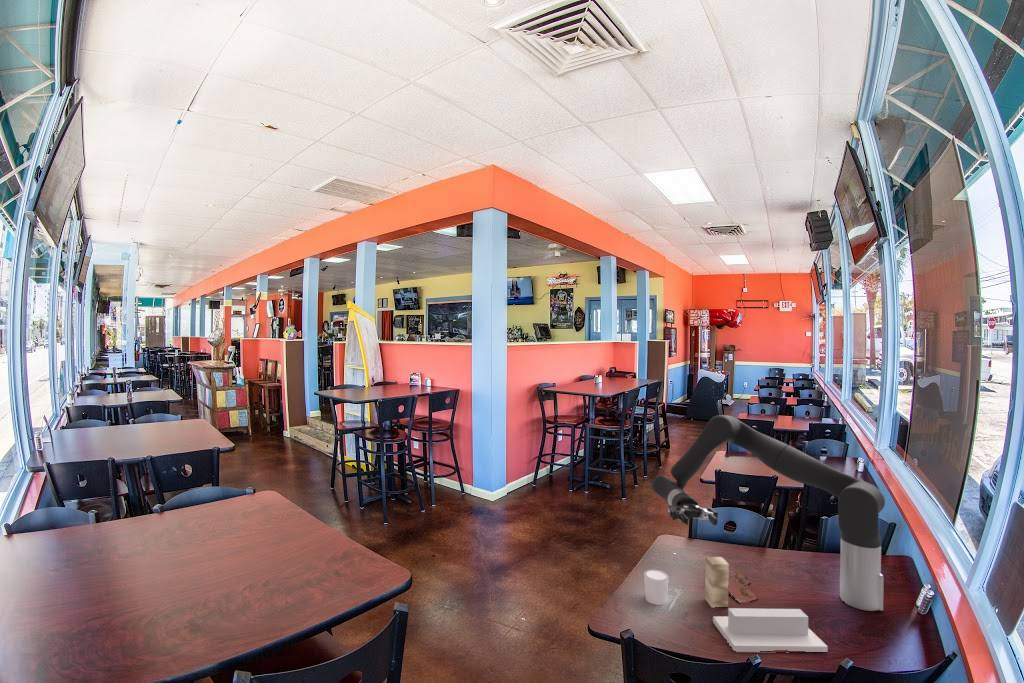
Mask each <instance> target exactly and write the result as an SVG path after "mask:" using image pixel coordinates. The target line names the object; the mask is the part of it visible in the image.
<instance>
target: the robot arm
mask: <svg viewBox="0 0 1024 683" xmlns="http://www.w3.org/2000/svg"><path fill="white" fill-rule="evenodd" d="M723 443H730V444H733V445H735V446H738V447H740V448H741V449H744V450H745V451H748V452H749V453H751V454H752V455H754V456H755V457H756V458H758V460H759V461H761V462H762V464H764V465H765V466H766V467H768V468H770V469H771V470H773V471H774V472H776V473H778V474H780V475H781V476H784V477H785V478H788V479H790V480H792V481H794V482H798V483H800V484H804V485H807V486H811V487H814V488H817V489H820V490H822V491H825V492H827V493H829V494H831V495H833V496H834V497H836V498H838V501H837V502H838V503H837V504H838V505H837V506H838V508H837V511H838V512H837V513H838V514H837V516H838V528H839V531H840V562H839V567H840V568H839V570H840V571H839V574H840V575H839V598H841V599H840V600H841V601H842V602H843V601H844V602H845V603H844V602H843V603H844V604H846V605H848V606H851V607H853V608H854V609H857V610H858V609H859V610H862V611H867V612H868V611H869V612H875V611H884V574H882V572H881V568H882V566H881V565H882V562H881V561H882V536H881V534H880V533H879V514H880V512H882V511H883V509H884V507H885V506H886V499H885V496H884V495H883V493H882V492H881V490H879V488H878V487H876V486H875V485H874V484H871V483H869V482H867V481H864V480H862V479H860V478H857V477H854V476H851V475H849V474H847V473H845V472H841V471H839V470H836V469H835V468H833V467H831V466H829V465H827V464H825V463H824V462H822V461H820V460H818V459H816V458H815V457H812V456H811V455H808V454H806V453H805V452H803V451H801V450H800V449H797V448H795V447H793V446H791V445H790V444H788V443H785V442H782V441H780V440H778V439H776V438H774V437H771V436H769V435H766V434H763V433H761V432H760V431H757V430H755V429H754V428H752V427H751V426H750V425H748V424H746V423H744V422H743V421H741V420H740V419H738V418H736V417H734V416H732V415H727V414H726V415H724V414H718V415H714V416H713V417H711V418H710V419H709V421H708V422H707V423H706V425H705V427H704V428H703V430H702V431H701V432H700V434H699V435H698V437H697V438H696V439H695V441H694V443H693V444H692V445H691V446H690V448H689V449H688V450H686V452H685V453H684V454H683V455H682V456H681V457H680V458H679V459H678V460H677V461H676V462H675V464H674V465H673V466H672V467H671V468H670V474H671V476H672V478H674V479H675V480H676V481H674V480H673V479H671V478H669V477H668V476H666V475H664V474H658V475H656V476H655V477H654V478H652V482H651V489H652V491H653V492H654V493H656V494H657V495H658V496H659V497H660V498H661V499H663V500H665V501H666V502H667V504H668V506H667V509H668V510H667V514H668V516H669V517H670V518H671V519H672V520H673V521H676V520H678V521H680V522H682V523H683V524H684V525H686V526H688V525H689V520H690V519H698V520H701V521H709V523H711V524H712V526H717V524H718V521H719V511H717V510H716V509H714V508H712V506H710V505H707V506H706V508H704V507H702V506H700V505H699V503H698V502H697V500H696V499H695V498H694V497H693V496H691V495H690V494H689V493H688V492H687V491H685V490H684V488H685V487H686V486H687V484H688V482H689V481H690V480H691V478H693V476H694V475H696V474H697V472H699V470H700V469H701V467H702V466H703V465H704V463H705V461H706V460H707V457H708V456H709V455H710V454H711V453H712V452H713V451H714V449H716V448H718V447H719V446H720V445H721V444H723Z"/></svg>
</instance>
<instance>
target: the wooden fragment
mask: <svg viewBox="0 0 1024 683" xmlns="http://www.w3.org/2000/svg"><path fill="white" fill-rule="evenodd" d="M732 570H734V571H735V573H736V575H735V578H736V579H738V580H739V582H738V583H741V584H742V585H743V584H746V585H748V584H747V583H745V581H743V580H744V579H742V578H741V576H742V575H743V574H742V573H743V572H741V573H740V575H738V574H739V572H740V570H738V569H736V568H733V569H732ZM737 570H738V571H737ZM729 574H730V573H729ZM733 575H734V574H733ZM732 577H734V576H732ZM730 578H731V577H730ZM745 578H747V577H746V576H745ZM736 579H735V581H736ZM735 581H733V582H735ZM735 583H737V582H735ZM742 585H741V586H742ZM746 585H744V586H742V587H743V588H746V587H747V586H746ZM748 586H749V585H748ZM750 588H751V587H748V588H746V589H745V590H747V589H750ZM739 589H741V590H739ZM739 589H738V590H739V592H741V594H742V595H743V596H744V597H745V598H748V597H749V598H752V599H754V598H753V596H751V595H750V594H748V593H747V592H746V591H745V590H744V589H742V588H739ZM729 594H731V593H730V591H728V595H729ZM747 595H748V596H747ZM730 597H732V595H731V596H730ZM742 599H743V598H742V597H741V598H735V599H734V600H735V601H738V604H739V603H741V602H746V600H744V599H743V600H742ZM750 600H751V599H750ZM754 600H755V599H754Z"/></svg>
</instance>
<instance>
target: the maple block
mask: <svg viewBox="0 0 1024 683" xmlns="http://www.w3.org/2000/svg"><path fill="white" fill-rule="evenodd" d="M729 567H730V564H729V563H728V562H727V560H725V558H724V557H722V556H705V583H704V585H705V586H704V587H705V589H704V592H705V593H704V600H705V601H706V602H707V603H708V605H709V606H710V608H712V609H713V608H714V609H716V608H715V607H728V608H729V594H728V585H729Z"/></svg>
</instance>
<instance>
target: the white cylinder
mask: <svg viewBox="0 0 1024 683" xmlns="http://www.w3.org/2000/svg"><path fill="white" fill-rule="evenodd" d="M643 579H644V582H643V583H644V592H645V594H644V595H645V600H646V601H647V602H648V603H649V604H652V605H656V606H657V605H658V606H661V605H665V604H666V603H667V598H668V592H669V590H668V589H669V588H668V587H669V580H670V577H669V575H668V574H667V573H666V572H664V571H662V570H659V569H647V570H645V571H644V572H643Z"/></svg>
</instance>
